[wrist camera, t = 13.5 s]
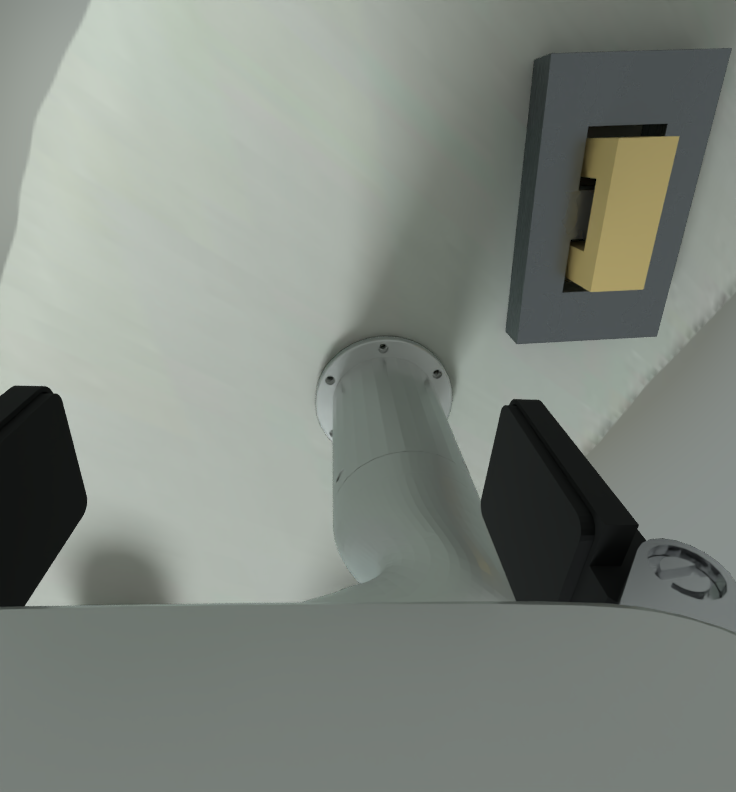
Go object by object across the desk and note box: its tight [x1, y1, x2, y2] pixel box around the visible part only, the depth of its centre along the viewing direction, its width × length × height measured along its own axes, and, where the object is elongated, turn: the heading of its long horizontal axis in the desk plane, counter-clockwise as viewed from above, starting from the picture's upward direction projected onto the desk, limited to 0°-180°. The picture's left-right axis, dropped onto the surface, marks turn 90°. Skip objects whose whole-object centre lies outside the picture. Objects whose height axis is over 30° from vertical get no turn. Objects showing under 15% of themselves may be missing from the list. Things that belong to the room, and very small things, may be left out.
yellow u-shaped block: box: [565, 136, 680, 292], centre depth 36 cm, size 10×4×6 cm, turn 2°
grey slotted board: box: [506, 48, 732, 344], centre depth 38 cm, size 20×12×3 cm, turn 2°
